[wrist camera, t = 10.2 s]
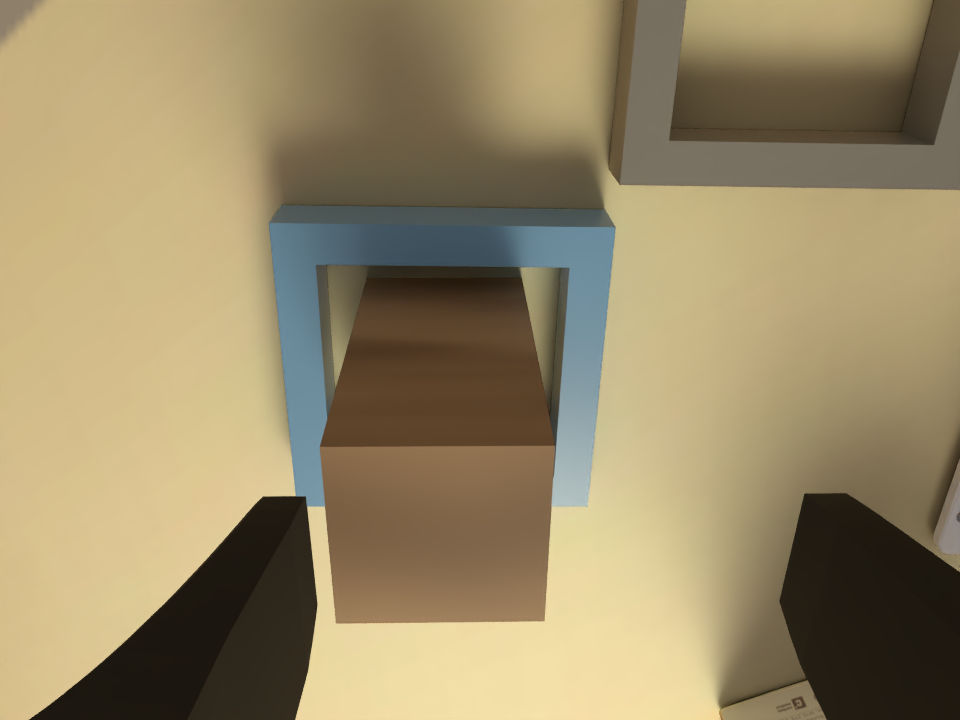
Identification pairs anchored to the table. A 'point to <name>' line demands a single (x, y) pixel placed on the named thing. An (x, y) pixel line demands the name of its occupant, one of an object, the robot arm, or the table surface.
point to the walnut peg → (439, 457)
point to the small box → (778, 705)
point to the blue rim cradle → (443, 242)
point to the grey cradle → (779, 153)
